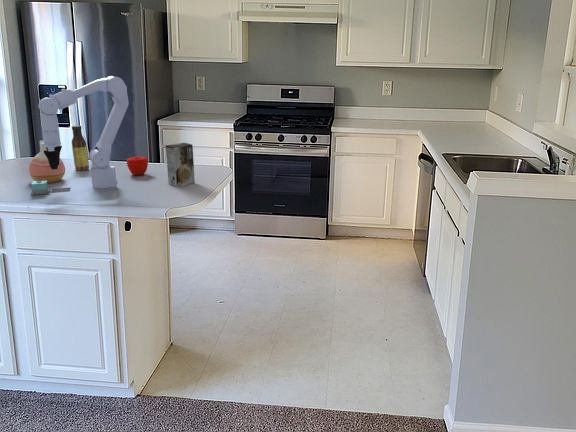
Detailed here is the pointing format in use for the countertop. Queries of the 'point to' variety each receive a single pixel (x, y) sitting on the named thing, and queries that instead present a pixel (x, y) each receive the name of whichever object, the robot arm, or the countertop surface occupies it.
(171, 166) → the coffee box
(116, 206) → the countertop surface
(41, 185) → the housing
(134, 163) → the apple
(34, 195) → the stand
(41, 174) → the vase
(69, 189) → the stand
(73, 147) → the sauce bottle
